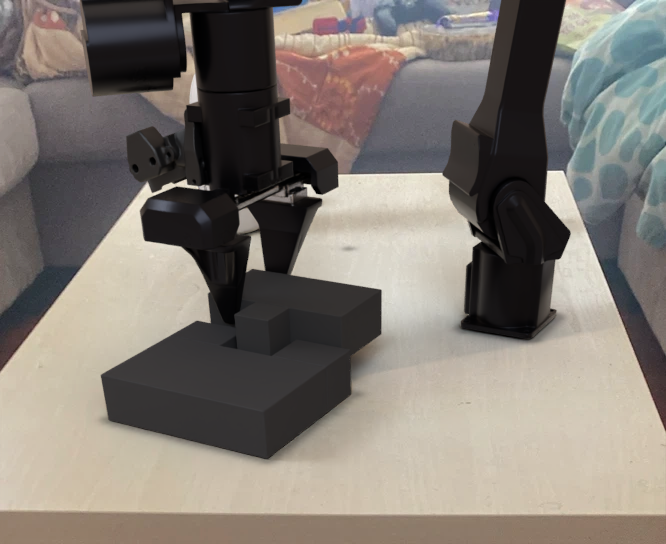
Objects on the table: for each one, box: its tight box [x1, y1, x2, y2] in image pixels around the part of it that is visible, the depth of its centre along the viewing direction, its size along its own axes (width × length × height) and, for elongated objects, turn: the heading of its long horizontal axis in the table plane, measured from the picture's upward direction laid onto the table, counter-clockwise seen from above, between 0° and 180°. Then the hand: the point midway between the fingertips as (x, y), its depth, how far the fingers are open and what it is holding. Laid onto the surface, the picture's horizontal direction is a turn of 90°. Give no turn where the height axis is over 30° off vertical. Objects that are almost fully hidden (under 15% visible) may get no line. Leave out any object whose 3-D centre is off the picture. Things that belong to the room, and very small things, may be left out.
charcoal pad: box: [100, 320, 352, 460], centre depth 77 cm, size 14×12×4 cm
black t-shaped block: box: [207, 268, 383, 358], centre depth 81 cm, size 12×10×4 cm
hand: (254, 309), depth 84 cm, fingers closed on black t-shaped block, 6 cm apart
